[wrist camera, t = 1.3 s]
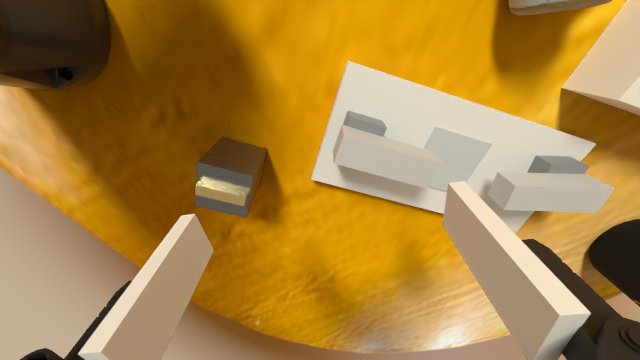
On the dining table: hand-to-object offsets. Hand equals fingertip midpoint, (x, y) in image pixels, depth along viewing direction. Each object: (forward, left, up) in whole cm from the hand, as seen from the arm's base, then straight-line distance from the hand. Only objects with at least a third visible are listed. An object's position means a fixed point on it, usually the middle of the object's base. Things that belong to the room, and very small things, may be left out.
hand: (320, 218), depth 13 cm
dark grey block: (-8, -8, -18) cm, 22 cm away
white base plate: (+16, 0, -18) cm, 24 cm away
